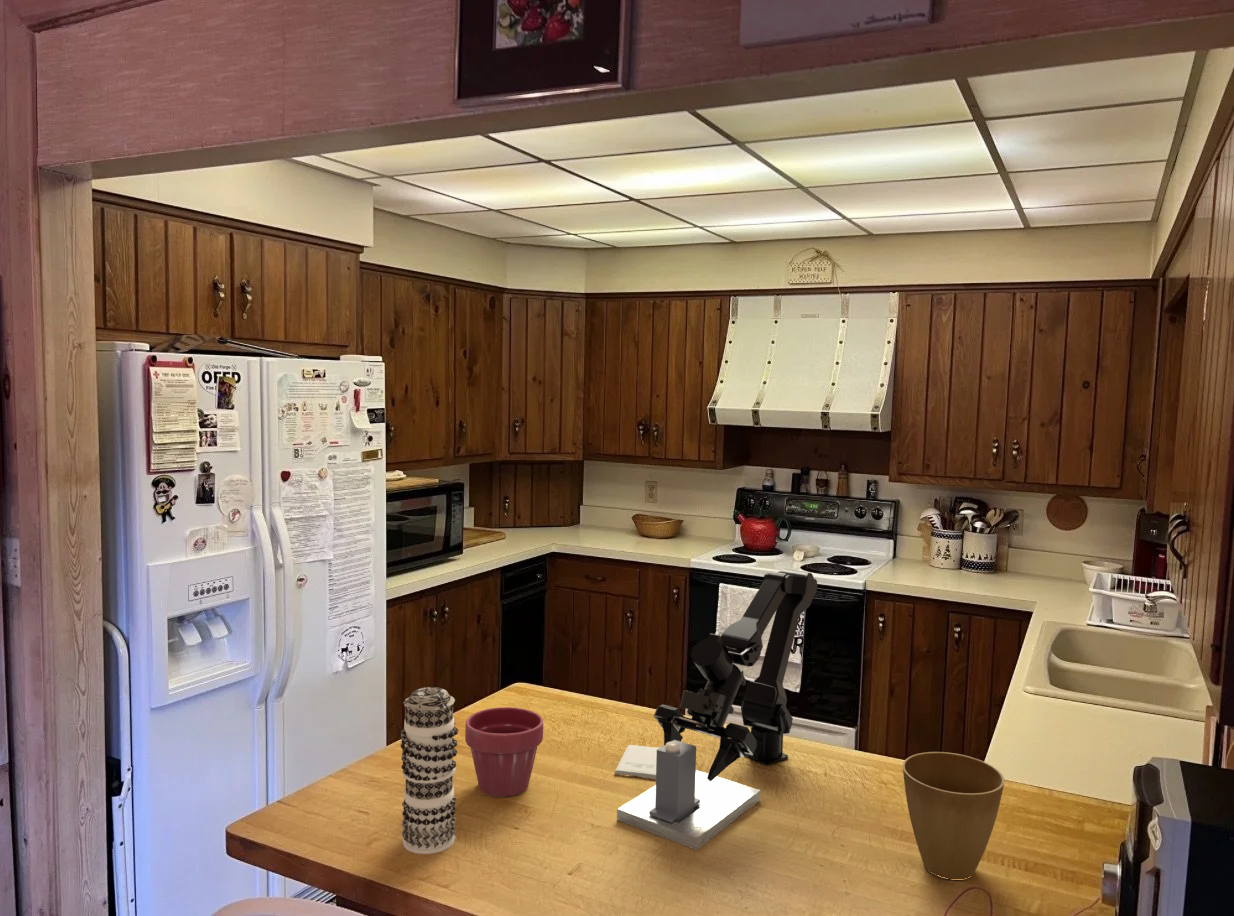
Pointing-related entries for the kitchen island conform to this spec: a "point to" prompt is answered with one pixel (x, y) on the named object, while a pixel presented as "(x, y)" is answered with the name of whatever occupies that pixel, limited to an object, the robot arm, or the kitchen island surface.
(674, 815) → the block
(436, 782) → the decorative candle
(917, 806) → the plant pot
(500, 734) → the plant pot
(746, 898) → the kitchen island surface
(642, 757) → the external hard drive
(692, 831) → the plate
